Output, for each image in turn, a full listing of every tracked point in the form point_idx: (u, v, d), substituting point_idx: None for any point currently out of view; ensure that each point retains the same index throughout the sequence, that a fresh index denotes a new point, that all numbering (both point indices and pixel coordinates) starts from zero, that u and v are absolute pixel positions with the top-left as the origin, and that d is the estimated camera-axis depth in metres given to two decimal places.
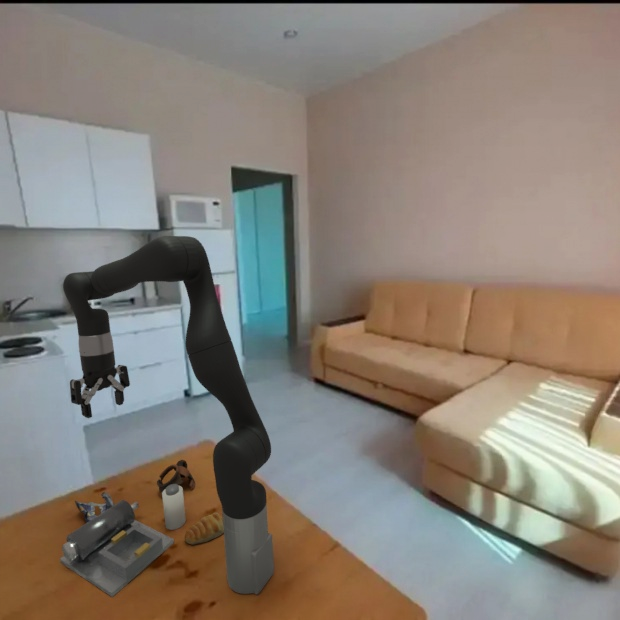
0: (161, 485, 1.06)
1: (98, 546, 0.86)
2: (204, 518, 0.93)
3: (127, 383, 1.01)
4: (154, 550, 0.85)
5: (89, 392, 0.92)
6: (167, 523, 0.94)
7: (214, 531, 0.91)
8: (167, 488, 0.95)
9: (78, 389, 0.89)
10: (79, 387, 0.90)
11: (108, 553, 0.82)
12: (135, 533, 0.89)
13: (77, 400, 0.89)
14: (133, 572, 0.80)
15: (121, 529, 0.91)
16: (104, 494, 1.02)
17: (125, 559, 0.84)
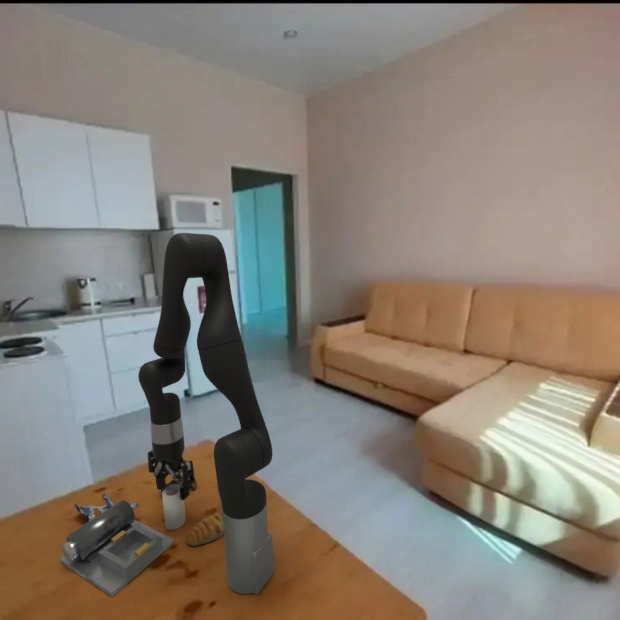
0: None
1: (98, 546, 0.86)
2: (205, 519, 0.93)
3: None
4: (154, 550, 0.85)
5: None
6: (167, 523, 0.94)
7: (216, 532, 0.91)
8: (167, 488, 0.95)
9: None
10: None
11: (108, 553, 0.82)
12: (135, 533, 0.89)
13: None
14: (133, 572, 0.80)
15: (121, 529, 0.91)
16: (104, 496, 1.01)
17: (125, 559, 0.84)
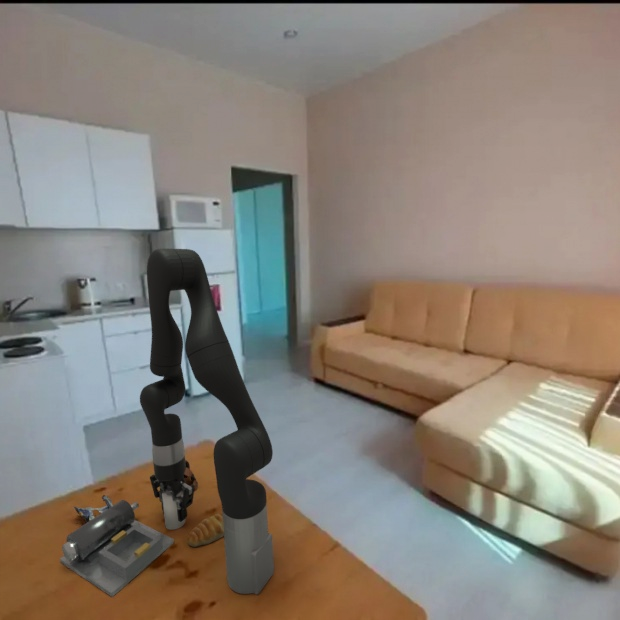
0: None
1: (98, 546, 0.86)
2: (206, 520, 0.93)
3: None
4: (154, 550, 0.85)
5: None
6: (167, 523, 0.94)
7: (217, 532, 0.90)
8: None
9: None
10: None
11: (108, 553, 0.82)
12: (135, 533, 0.89)
13: None
14: (133, 572, 0.80)
15: (121, 529, 0.91)
16: (104, 497, 1.00)
17: (125, 559, 0.84)
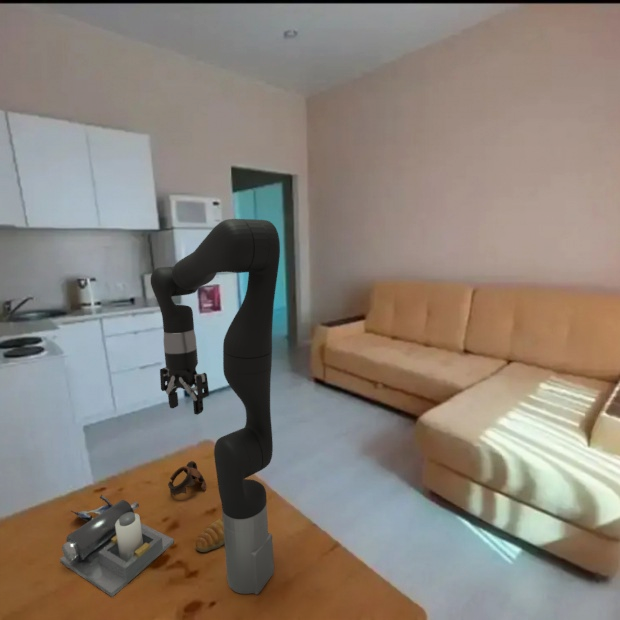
0: (173, 487, 1.05)
1: (98, 546, 0.86)
2: (213, 524, 0.91)
3: None
4: (154, 550, 0.85)
5: None
6: (121, 558, 0.83)
7: None
8: (121, 517, 0.83)
9: None
10: None
11: (108, 553, 0.82)
12: None
13: None
14: (133, 572, 0.80)
15: None
16: (102, 496, 1.01)
17: None
